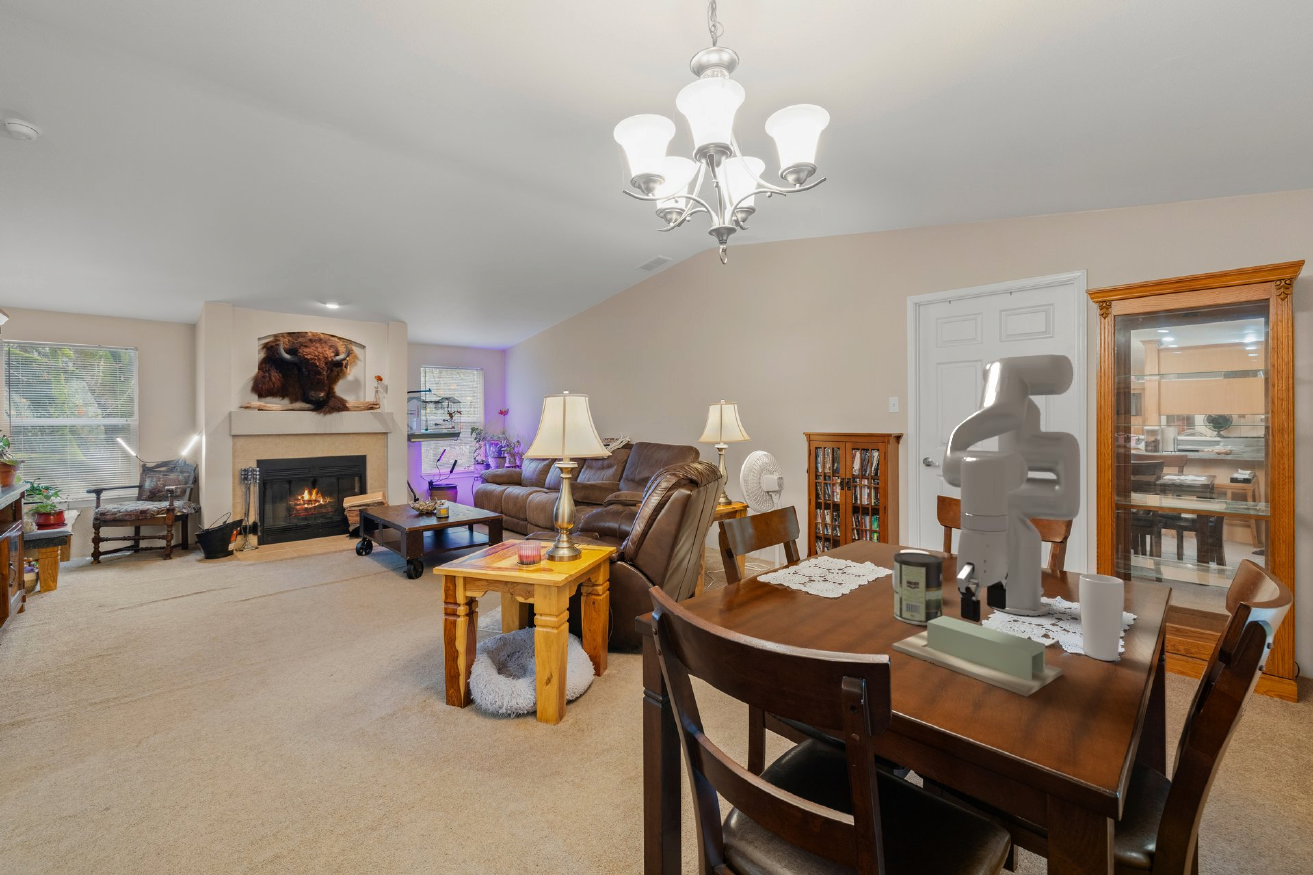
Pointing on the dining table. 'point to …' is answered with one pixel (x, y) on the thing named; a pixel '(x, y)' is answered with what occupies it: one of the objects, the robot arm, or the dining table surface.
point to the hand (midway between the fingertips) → (983, 613)
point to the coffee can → (917, 587)
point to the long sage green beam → (986, 646)
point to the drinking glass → (1101, 615)
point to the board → (976, 667)
